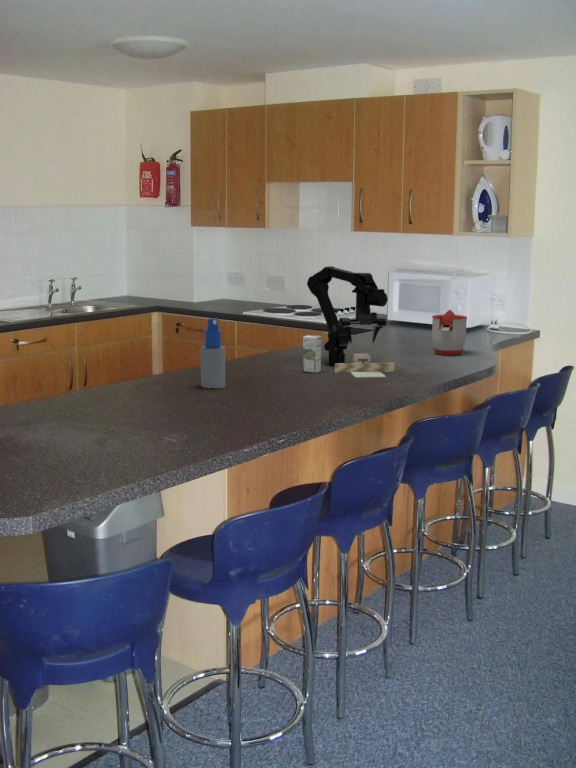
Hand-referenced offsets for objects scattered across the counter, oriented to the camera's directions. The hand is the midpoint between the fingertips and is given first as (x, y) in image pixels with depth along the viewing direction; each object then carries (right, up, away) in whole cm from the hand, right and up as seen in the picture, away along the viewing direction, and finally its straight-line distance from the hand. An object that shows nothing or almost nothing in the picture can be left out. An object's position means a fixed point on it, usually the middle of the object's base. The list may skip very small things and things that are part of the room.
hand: (362, 342), depth 355 cm
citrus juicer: (+42, -3, +40) cm, 58 cm away
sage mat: (+1, -13, -11) cm, 17 cm away
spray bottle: (-57, -18, -34) cm, 69 cm away
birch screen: (+1, -12, -4) cm, 13 cm away
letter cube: (0, -11, +2) cm, 11 cm away
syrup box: (-20, -12, -4) cm, 24 cm away
